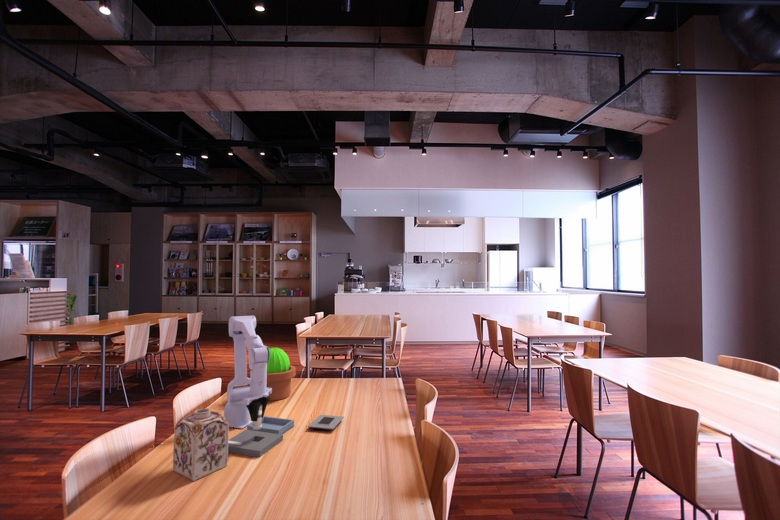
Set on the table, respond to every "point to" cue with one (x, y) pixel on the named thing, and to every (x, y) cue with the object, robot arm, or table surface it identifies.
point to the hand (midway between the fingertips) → (257, 419)
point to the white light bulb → (258, 423)
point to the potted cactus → (279, 374)
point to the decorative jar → (200, 444)
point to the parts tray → (274, 425)
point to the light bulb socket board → (253, 442)
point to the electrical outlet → (325, 422)
